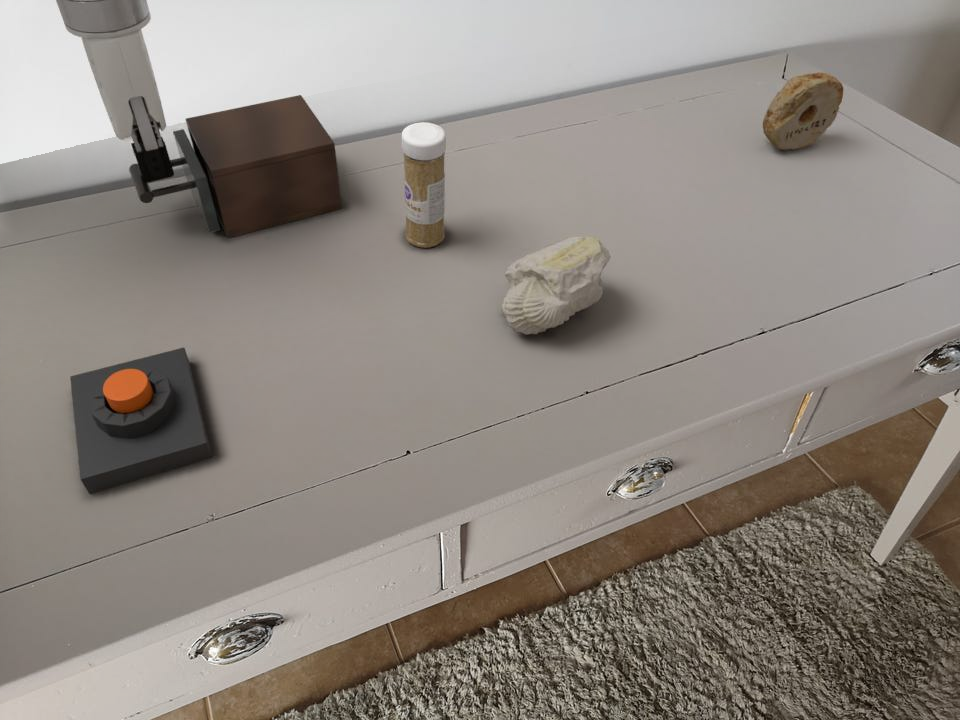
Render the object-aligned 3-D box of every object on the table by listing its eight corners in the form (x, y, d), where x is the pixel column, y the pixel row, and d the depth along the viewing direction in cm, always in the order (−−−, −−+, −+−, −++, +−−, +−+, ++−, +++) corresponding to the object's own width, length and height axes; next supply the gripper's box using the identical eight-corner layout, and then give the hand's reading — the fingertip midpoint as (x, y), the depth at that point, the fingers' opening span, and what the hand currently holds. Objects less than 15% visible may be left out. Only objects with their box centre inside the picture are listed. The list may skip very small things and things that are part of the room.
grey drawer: (156, 246, 85) (137, 192, 80) (137, 195, 91) (119, 142, 86) (316, 205, 91) (309, 152, 86) (289, 159, 97) (280, 108, 92)
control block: (78, 391, 72) (62, 362, 69) (189, 363, 75) (179, 333, 72) (89, 494, 64) (72, 466, 61) (212, 458, 67) (202, 429, 64)
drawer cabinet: (227, 238, 88) (210, 171, 81) (202, 184, 94) (185, 118, 88) (342, 208, 92) (334, 142, 86) (310, 158, 99) (300, 94, 93)
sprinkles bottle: (397, 235, 89) (391, 130, 79) (427, 220, 91) (425, 115, 81) (423, 255, 87) (420, 149, 77) (453, 238, 89) (455, 133, 79)
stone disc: (811, 131, 108) (838, 62, 101) (829, 144, 106) (857, 75, 98) (749, 143, 105) (772, 73, 98) (765, 158, 103) (790, 87, 96)
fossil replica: (480, 332, 79) (572, 368, 77) (487, 276, 72) (588, 314, 71) (523, 256, 86) (608, 288, 84) (534, 199, 79) (626, 232, 78)
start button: (107, 388, 67) (100, 375, 66) (150, 377, 68) (144, 363, 67) (111, 418, 65) (104, 405, 64) (155, 406, 66) (150, 393, 65)
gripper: (49, -19, 75) (110, 149, 88) (72, 47, 66) (136, 222, 79) (130, -30, 77) (177, 135, 91) (162, 31, 68) (210, 204, 82)
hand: (158, 175), depth 85 cm, fingers closed
